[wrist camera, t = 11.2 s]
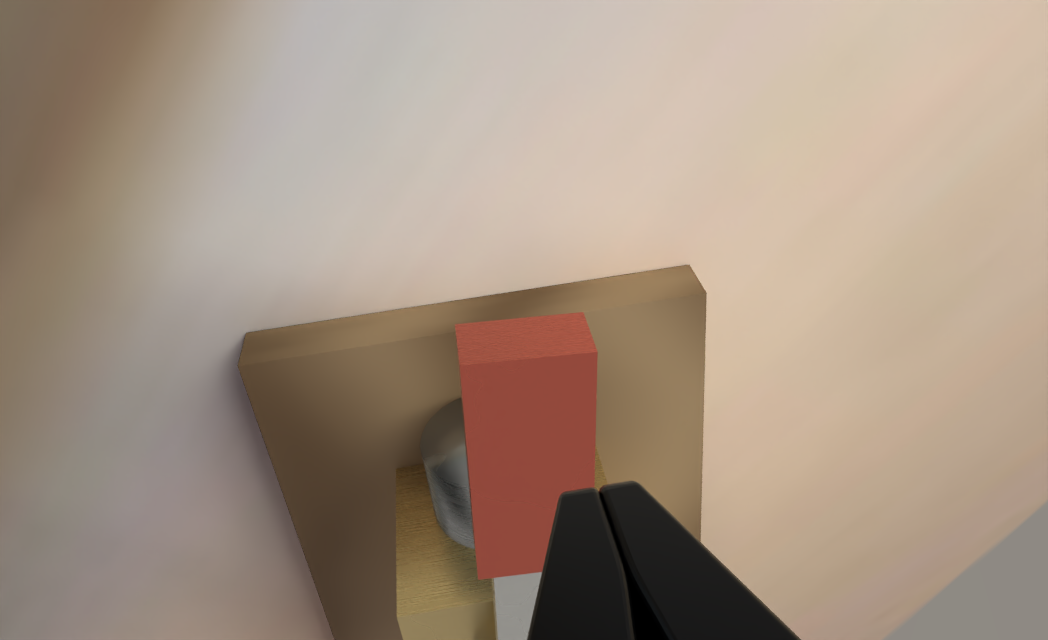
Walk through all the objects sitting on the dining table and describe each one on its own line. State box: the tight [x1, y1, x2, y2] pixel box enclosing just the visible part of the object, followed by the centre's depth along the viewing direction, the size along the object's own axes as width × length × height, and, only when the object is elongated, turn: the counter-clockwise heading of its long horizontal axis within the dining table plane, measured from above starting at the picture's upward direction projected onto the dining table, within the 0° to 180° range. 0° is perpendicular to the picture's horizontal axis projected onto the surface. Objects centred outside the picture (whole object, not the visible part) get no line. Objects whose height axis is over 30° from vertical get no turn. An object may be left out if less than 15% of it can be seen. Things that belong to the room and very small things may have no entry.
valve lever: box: [455, 312, 598, 640], centre depth 17 cm, size 12×3×1 cm, turn 2°
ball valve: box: [396, 398, 608, 640], centre depth 23 cm, size 6×10×6 cm, turn 6°
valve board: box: [238, 265, 706, 640], centre depth 26 cm, size 12×14×2 cm
